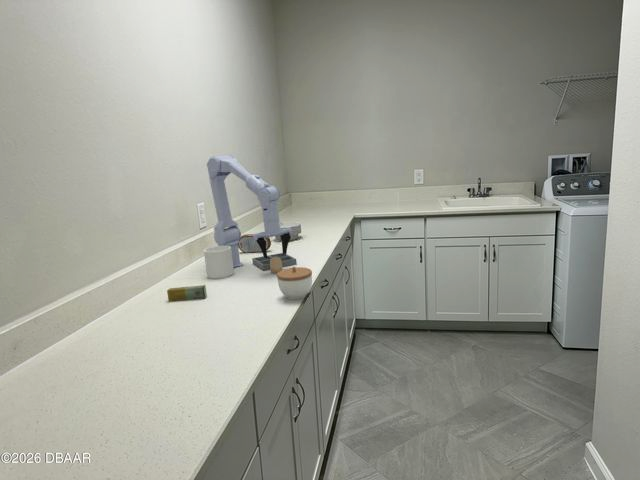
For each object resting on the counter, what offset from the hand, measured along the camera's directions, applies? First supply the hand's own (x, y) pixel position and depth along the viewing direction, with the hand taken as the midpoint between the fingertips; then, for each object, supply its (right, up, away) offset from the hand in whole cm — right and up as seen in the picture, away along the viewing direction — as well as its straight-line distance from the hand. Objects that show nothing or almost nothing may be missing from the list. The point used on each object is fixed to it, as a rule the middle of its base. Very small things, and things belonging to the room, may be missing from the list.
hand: (275, 255), depth 159 cm
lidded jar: (+9, -12, -28) cm, 31 cm away
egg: (0, -6, +1) cm, 6 cm away
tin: (-13, 0, +35) cm, 38 cm away
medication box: (-26, -13, -22) cm, 36 cm away
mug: (-21, -7, +4) cm, 22 cm away
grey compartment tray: (-2, -4, +12) cm, 13 cm away
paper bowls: (0, +6, +59) cm, 59 cm away
